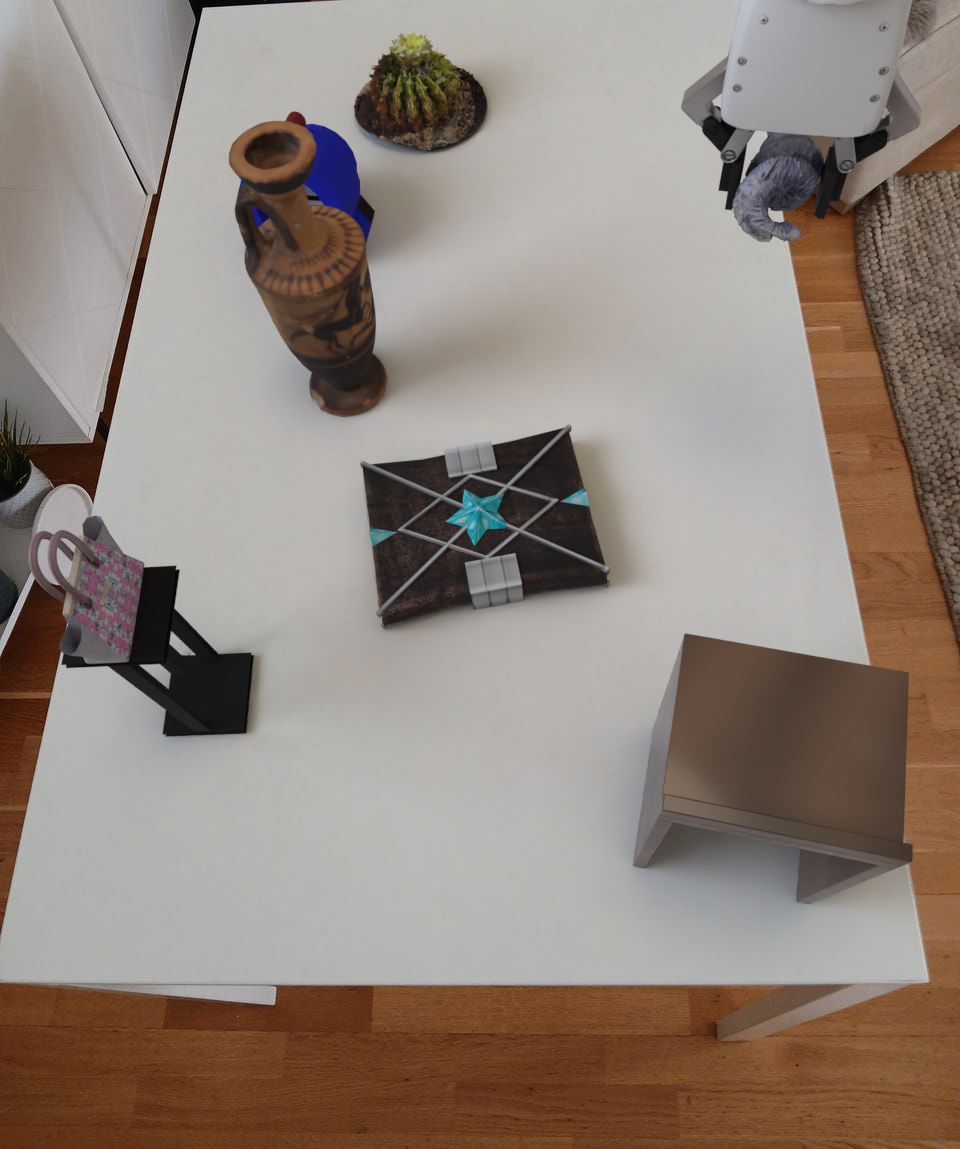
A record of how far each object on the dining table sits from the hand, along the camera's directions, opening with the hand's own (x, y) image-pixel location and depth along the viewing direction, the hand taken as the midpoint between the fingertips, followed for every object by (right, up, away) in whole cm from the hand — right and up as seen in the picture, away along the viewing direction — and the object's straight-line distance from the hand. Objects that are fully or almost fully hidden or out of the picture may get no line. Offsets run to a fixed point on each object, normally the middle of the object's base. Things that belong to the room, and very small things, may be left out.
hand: (776, 198), depth 66 cm
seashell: (0, 0, +1) cm, 1 cm away
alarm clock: (-41, +13, +42) cm, 60 cm away
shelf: (-1, -47, +9) cm, 48 cm away
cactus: (-29, +32, +50) cm, 66 cm away
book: (-21, -23, +23) cm, 39 cm away
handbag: (-46, -39, +18) cm, 63 cm away
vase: (-36, -7, +32) cm, 48 cm away
